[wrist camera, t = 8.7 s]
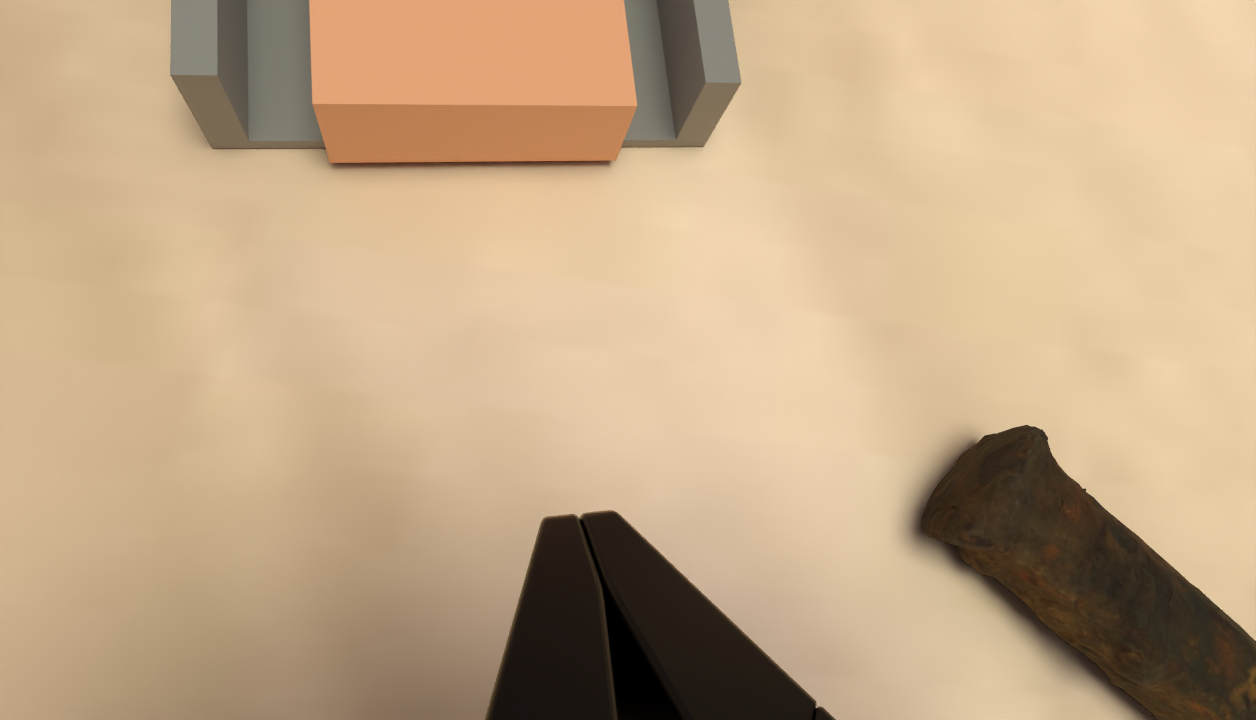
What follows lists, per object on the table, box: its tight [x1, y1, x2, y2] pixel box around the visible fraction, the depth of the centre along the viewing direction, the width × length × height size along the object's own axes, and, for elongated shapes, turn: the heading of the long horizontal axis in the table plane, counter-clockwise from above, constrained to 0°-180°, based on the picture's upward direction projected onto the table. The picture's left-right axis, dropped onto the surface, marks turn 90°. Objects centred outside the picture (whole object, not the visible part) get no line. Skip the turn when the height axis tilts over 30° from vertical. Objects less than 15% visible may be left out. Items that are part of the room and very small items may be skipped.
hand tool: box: [921, 425, 1256, 720], centre depth 22 cm, size 19×4×5 cm, turn 47°
